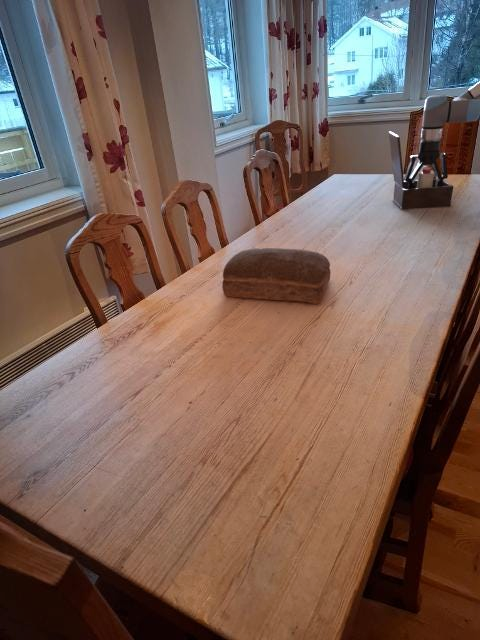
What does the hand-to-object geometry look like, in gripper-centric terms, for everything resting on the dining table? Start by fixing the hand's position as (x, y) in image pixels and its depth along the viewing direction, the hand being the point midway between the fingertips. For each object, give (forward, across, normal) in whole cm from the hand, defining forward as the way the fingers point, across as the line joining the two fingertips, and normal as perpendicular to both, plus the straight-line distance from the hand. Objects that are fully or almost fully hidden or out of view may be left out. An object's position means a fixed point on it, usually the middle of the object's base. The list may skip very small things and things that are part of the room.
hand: (423, 196), depth 180 cm
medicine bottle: (+4, -9, -40) cm, 41 cm away
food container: (+4, -7, -20) cm, 21 cm away
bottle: (+3, 0, 0) cm, 3 cm away
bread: (+4, +63, +72) cm, 95 cm away
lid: (-15, +11, -2) cm, 19 cm away
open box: (+3, 0, -2) cm, 4 cm away
